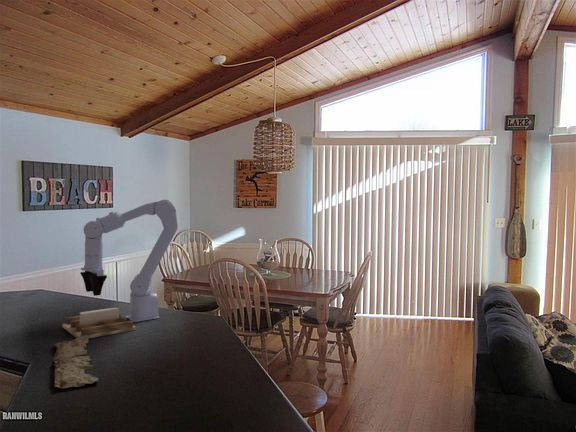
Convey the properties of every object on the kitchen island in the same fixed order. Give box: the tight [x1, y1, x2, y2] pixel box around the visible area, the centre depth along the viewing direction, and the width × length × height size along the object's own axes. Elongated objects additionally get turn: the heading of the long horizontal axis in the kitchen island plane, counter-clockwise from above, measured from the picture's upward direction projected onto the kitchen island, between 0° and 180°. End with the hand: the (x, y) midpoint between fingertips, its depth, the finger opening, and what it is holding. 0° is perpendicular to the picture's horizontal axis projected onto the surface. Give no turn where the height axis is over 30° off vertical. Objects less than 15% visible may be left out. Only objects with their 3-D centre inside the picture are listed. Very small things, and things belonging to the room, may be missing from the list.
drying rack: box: [61, 313, 137, 339], centre depth 152 cm, size 18×17×3 cm
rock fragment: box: [52, 335, 100, 389], centre depth 121 cm, size 34×10×3 cm, turn 30°
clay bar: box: [79, 307, 120, 324], centre depth 152 cm, size 12×2×5 cm, turn 131°
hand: (93, 293), depth 162 cm, fingers open, 7 cm apart
